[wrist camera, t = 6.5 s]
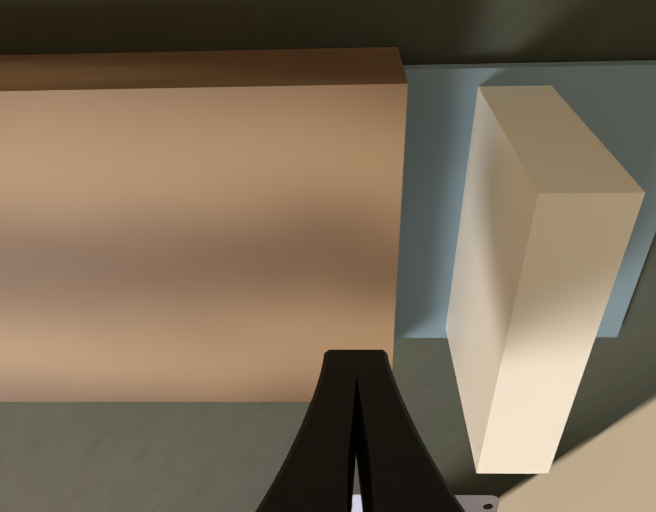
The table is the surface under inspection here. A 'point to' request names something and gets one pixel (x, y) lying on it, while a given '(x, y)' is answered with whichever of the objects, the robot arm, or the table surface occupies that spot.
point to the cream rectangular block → (531, 271)
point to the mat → (452, 158)
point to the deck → (196, 221)
